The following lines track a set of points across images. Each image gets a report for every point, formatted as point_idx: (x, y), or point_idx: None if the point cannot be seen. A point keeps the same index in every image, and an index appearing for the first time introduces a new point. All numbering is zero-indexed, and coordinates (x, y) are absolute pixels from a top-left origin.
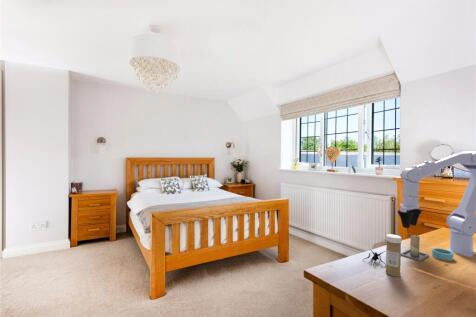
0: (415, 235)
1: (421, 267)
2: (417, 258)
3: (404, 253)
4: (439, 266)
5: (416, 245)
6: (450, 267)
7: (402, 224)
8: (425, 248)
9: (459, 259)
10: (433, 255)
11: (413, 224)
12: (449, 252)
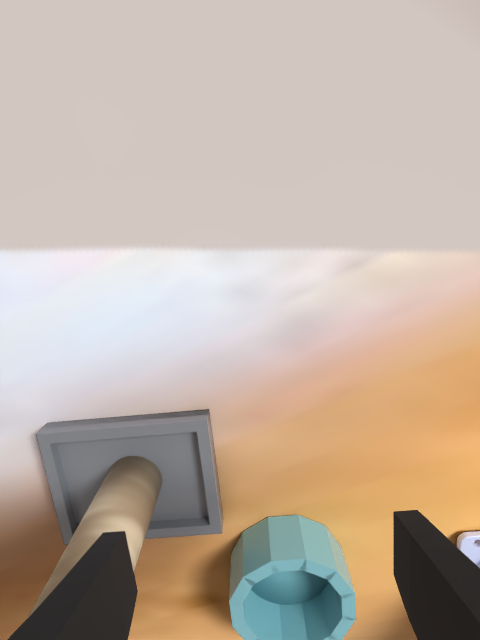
0: None
1: (16, 556)
2: None
3: (91, 437)
4: None
5: None
6: (179, 624)
7: (73, 569)
8: (410, 433)
9: (371, 609)
10: (241, 550)
11: (399, 562)
12: (330, 626)
